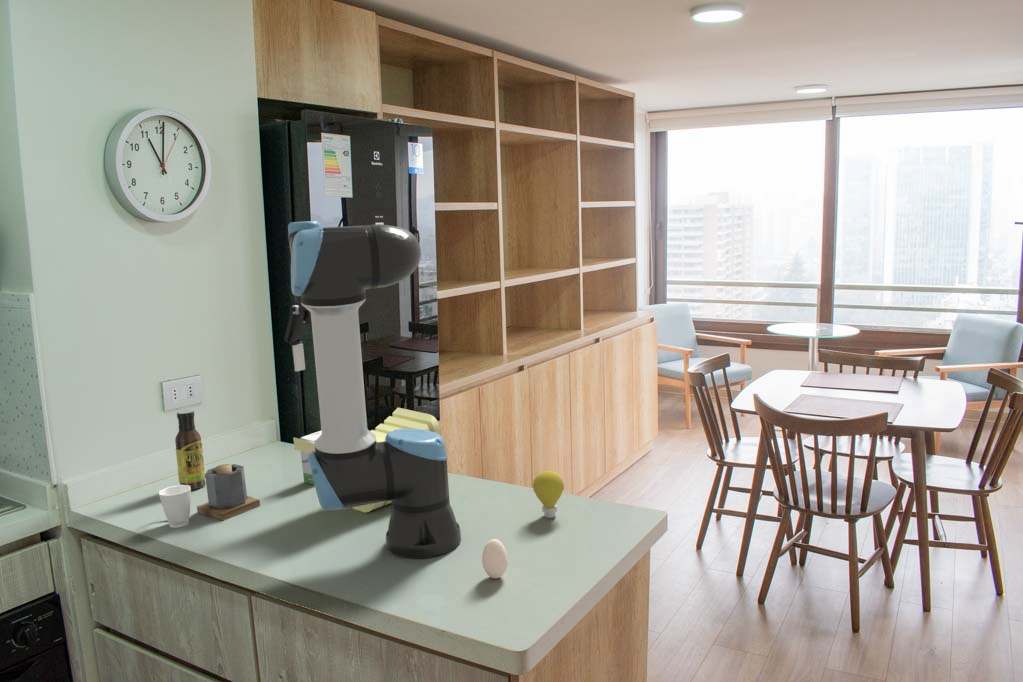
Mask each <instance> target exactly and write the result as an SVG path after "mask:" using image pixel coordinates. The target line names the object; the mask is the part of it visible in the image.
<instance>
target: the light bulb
mask: <svg viewBox="0 0 1023 682" xmlns="http://www.w3.org/2000/svg"><path fill="white" fill-rule="evenodd" d="M532 489H533V492H534V494H535V495H536V498H537V499H538V500H539V501H540V503H541V504H542V506H541V509H542V511H541V512H542V513H543V514H544V515H543V516H544V517H545V518H548V519H549V518H550V519H551V518H554V517H556V512H558V505H557V503H558V501H559V500H560V498H561V496H562V494H563V492H564V489H565V483H564V480H563V478H562V476H561V475H560V474H559V473H557V472H555V471H554V470H544V471H541V472H540V473H538V474H537V475H536V476H535V478H534V479H533V484H532Z"/></svg>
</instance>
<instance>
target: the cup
mask: <svg viewBox="0 0 1023 682" xmlns="http://www.w3.org/2000/svg"><path fill="white" fill-rule="evenodd" d="M191 492H192V490H191V488H190V486H189V485H180V484H178V485H172V486H171V485H170V486H168V487H165V488H163V489H161V490H159V491H158V494H159V499H160V503H161V506H162V509H163V512H164V515H165V518H166V519H167V521H168V523H169V528H174V529H178V528H182V527H185V526H188V525H189V524H190V520H189V519H190V515H191Z"/></svg>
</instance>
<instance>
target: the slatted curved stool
mask: <svg viewBox="0 0 1023 682" xmlns="http://www.w3.org/2000/svg"><path fill="white" fill-rule="evenodd" d="M398 429H422V430H428V431H432V432H435V433H437V434H439V435H440V436H441V437H442V429H441V425H440V423H439V421H438V419H437V418H436V417H435V416H434V415H431V414H429V413H425V412H422V411H415V410H411V409H408V408H407V409H406V408H401V407H396V409H395V410H394V411H393V412H392V416H391V415H389V416H388V417H386V419H384V421H383V423H379V424H378V425H377V426H376V427H374V429H371V430H369V431H370V432H372V433H373V434H374V435H375V436H376V443H377V442H384V441H385V437H386V435H387V433H388V432H390V431H394V430H398ZM293 446H294V450H297V451H299V452H300V453H301V452H304V453H306V454H309V453H311V452H312V451H314V452H315V443H314V442H310V441H305V440H301V438H298V437H293ZM389 504H392V501H391V500H390V501H384V502H379V503H374V504H368V505H363V506H357V507H352V509H353V510H356V511H360V512H362V513H368V512H372V511H374V510H376V509H378V508H381V507H384V506H386V505H387V506H388V505H389Z"/></svg>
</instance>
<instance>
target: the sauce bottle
mask: <svg viewBox="0 0 1023 682" xmlns="http://www.w3.org/2000/svg"><path fill="white" fill-rule="evenodd" d="M176 418H177V420H178V421H177V422H178V431H177V434H176V436H175V438H174V441H175V453H176V454H175V456H176V463H177V464H176V465H177V474H178V475H177V476H178V482H179V485H189V486H190V488H191V491H192V490H193V491H194V490H198V489H200V488H203V487H204V486H206V478H205V474H206V471H205V463H204V454H203V453H204V452H203V442H202V437H201V435H200V433H199V432H198V430H196V425H195V411H194V410H193V409H182V410H179V411H177V412H176Z"/></svg>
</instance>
